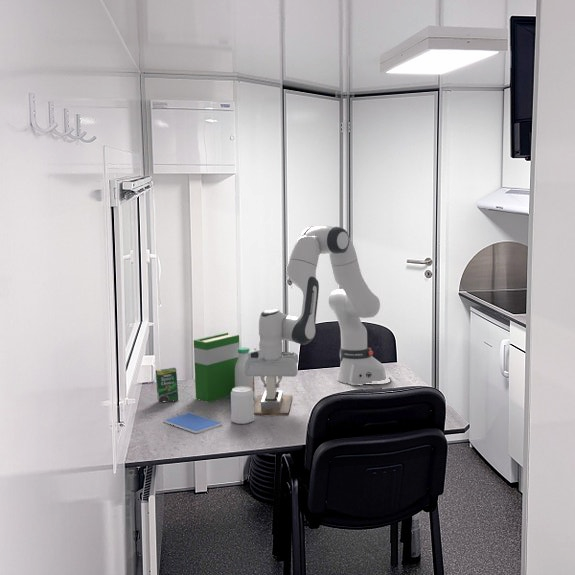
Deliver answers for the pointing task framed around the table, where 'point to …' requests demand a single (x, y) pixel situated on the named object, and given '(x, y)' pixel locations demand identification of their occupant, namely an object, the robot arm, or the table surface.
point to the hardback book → (215, 366)
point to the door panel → (270, 387)
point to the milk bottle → (243, 370)
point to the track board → (283, 410)
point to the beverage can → (242, 405)
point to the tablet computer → (193, 423)
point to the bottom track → (272, 402)
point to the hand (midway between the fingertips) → (271, 387)
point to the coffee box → (167, 384)
